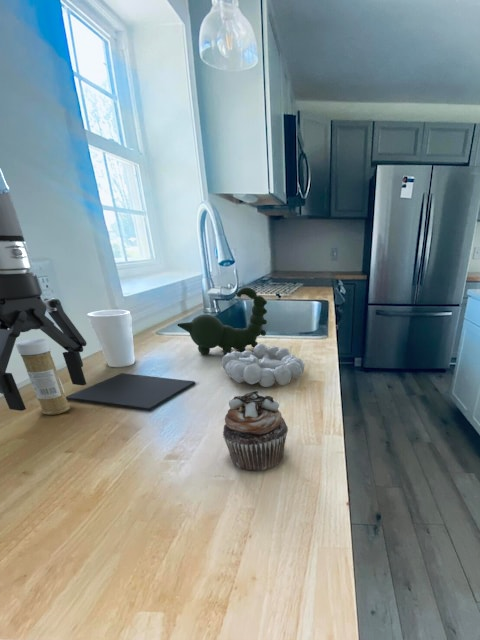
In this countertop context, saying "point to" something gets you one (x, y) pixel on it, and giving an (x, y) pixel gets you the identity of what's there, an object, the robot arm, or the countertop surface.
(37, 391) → the sprinkles bottle
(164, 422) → the countertop surface
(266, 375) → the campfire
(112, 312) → the foam cup
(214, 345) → the toy figurine
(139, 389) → the corner mat
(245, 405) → the cupcake
